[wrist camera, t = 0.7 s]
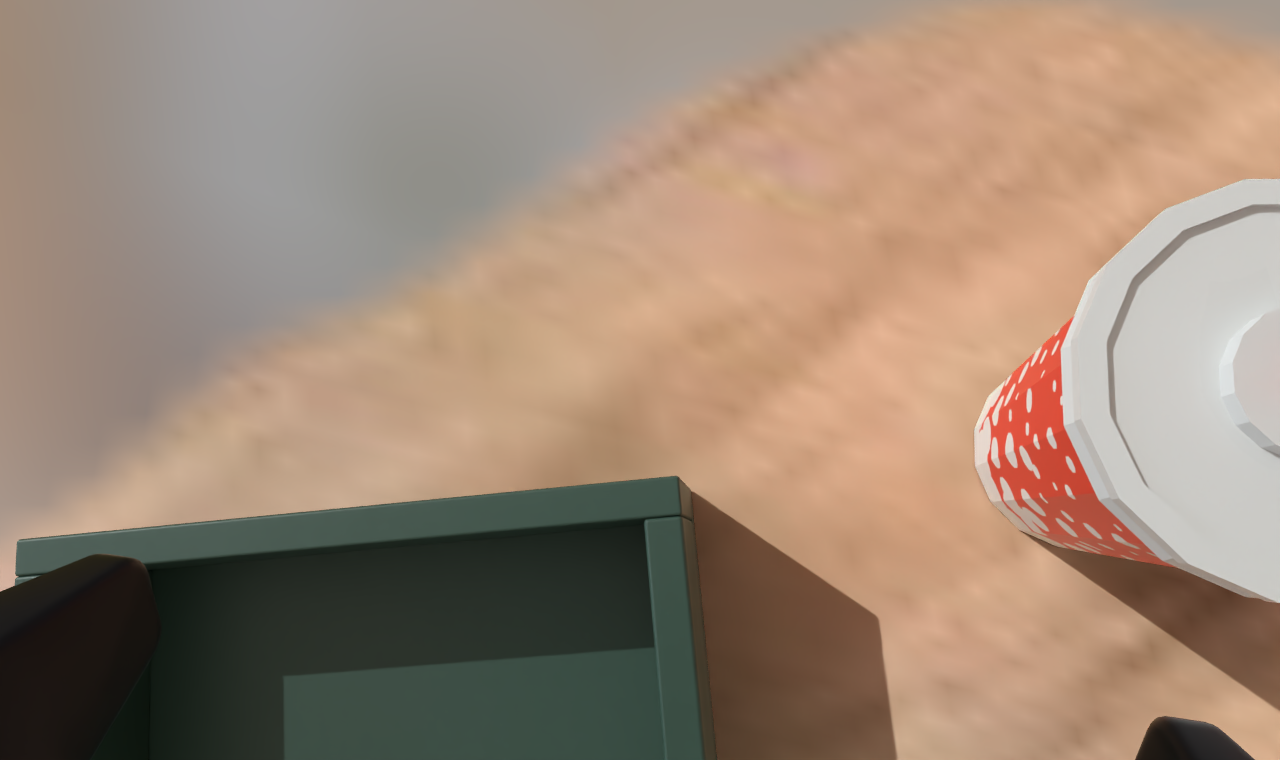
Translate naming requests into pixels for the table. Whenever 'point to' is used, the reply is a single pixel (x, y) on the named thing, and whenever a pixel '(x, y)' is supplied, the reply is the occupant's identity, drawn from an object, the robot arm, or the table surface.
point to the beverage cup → (1158, 402)
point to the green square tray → (421, 630)
